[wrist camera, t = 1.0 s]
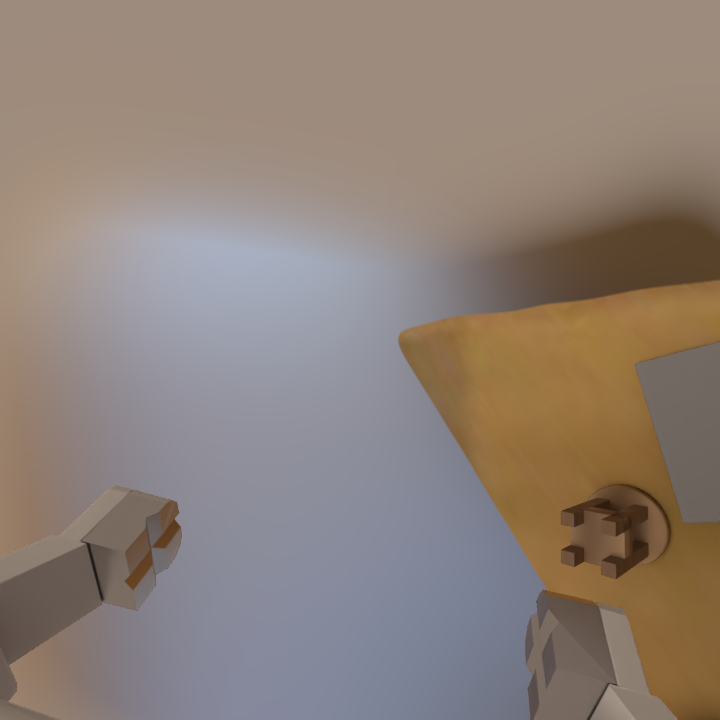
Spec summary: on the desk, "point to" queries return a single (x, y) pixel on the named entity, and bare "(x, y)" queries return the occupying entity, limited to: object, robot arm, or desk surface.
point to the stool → (616, 530)
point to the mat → (688, 425)
